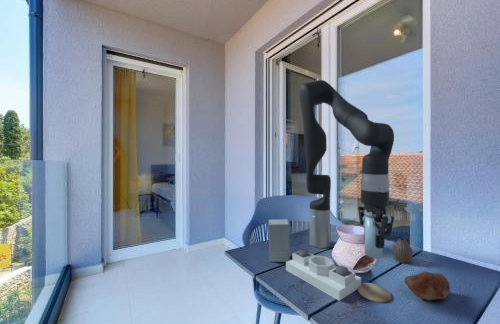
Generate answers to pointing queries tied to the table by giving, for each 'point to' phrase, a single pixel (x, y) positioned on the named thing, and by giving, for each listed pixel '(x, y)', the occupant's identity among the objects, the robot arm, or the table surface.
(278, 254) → the skincare box
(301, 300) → the table surface
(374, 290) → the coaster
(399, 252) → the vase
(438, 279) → the fossil
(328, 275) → the housing
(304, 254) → the plunger
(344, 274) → the plunger
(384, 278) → the table surface
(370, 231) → the cylinder
